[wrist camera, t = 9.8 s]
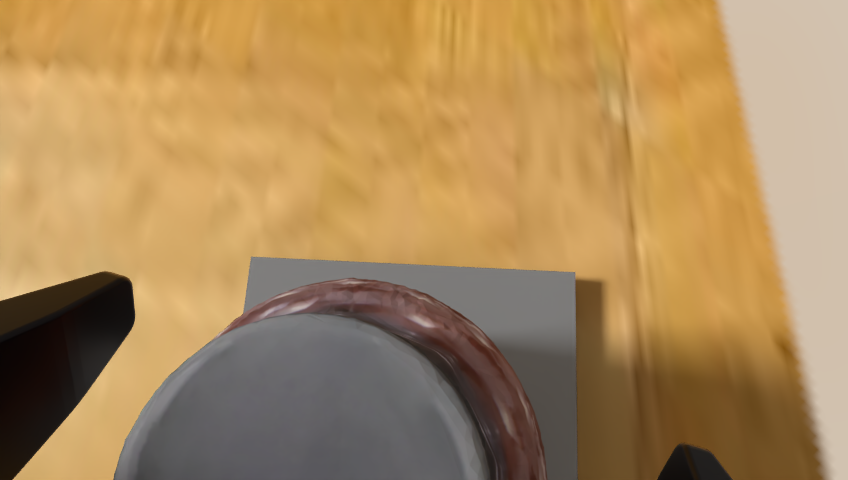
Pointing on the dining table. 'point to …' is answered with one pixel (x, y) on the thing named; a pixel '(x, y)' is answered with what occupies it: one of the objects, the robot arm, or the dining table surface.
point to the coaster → (489, 310)
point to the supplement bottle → (340, 396)
